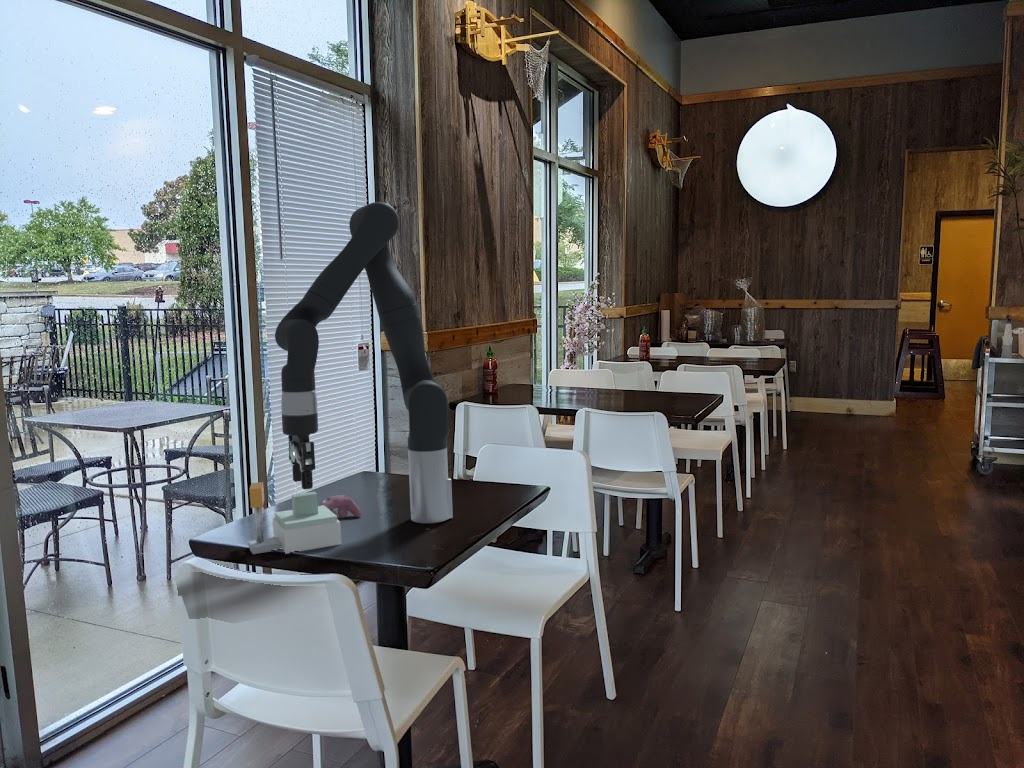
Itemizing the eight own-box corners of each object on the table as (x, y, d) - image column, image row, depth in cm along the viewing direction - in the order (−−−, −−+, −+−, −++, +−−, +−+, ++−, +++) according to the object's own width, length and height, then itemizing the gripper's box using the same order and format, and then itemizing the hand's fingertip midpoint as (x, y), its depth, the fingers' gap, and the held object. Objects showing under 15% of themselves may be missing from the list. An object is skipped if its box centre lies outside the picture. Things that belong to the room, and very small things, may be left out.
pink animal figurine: (353, 520, 199) (343, 494, 200) (364, 515, 196) (354, 488, 197) (321, 530, 191) (311, 503, 192) (331, 525, 188) (321, 497, 190)
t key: (256, 533, 178) (252, 479, 177) (267, 532, 179) (264, 478, 178) (253, 546, 169) (249, 489, 168) (265, 544, 170) (261, 488, 169)
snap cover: (324, 510, 184) (322, 485, 184) (337, 521, 175) (336, 495, 174) (275, 517, 179) (273, 492, 179) (286, 529, 170) (284, 503, 169)
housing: (326, 530, 185) (325, 509, 185) (341, 544, 175) (340, 521, 174) (246, 543, 177) (244, 521, 177) (256, 558, 167) (254, 535, 166)
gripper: (325, 414, 170) (328, 489, 172) (309, 406, 182) (312, 476, 184) (289, 417, 166) (292, 493, 168) (275, 408, 179) (278, 480, 181)
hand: (302, 484), depth 176 cm, fingers open, 8 cm apart
